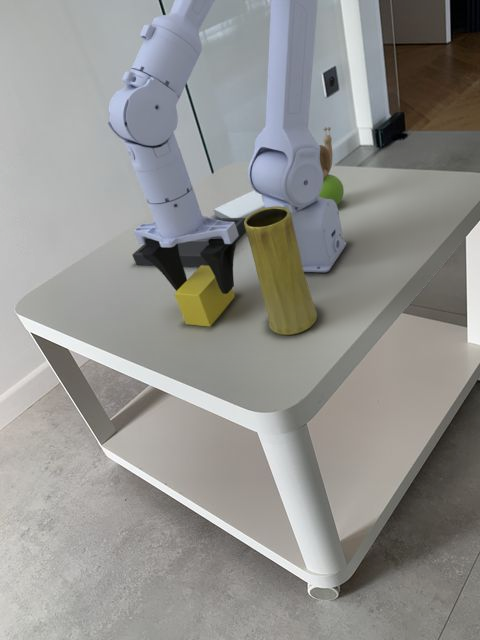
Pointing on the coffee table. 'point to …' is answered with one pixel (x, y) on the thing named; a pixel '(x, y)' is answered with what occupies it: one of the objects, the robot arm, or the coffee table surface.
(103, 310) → the coffee table surface
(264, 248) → the vase
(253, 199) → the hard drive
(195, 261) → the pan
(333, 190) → the snail figurine
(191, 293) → the sponge
